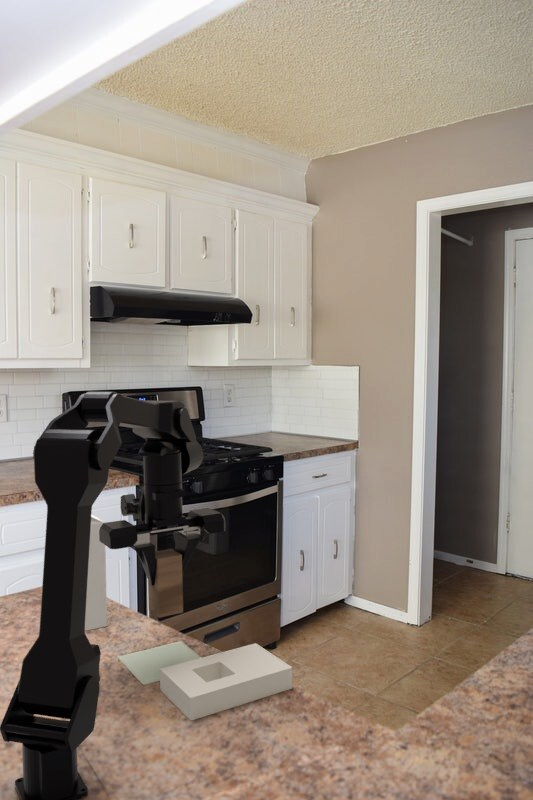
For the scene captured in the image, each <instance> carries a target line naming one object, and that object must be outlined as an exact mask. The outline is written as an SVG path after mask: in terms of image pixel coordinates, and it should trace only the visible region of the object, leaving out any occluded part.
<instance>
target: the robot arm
mask: <svg viewBox="0 0 533 800" xmlns="http://www.w3.org/2000/svg"><path fill="white" fill-rule="evenodd" d="M89 424H106V426H105V428H104V430H103V432H102V431H100V430H99V429H86V428H87V427H88V425H89ZM119 427H123V428H124V427H125V428H131V429H132V432H133V433H134V434H135V435H136V436H138V437H141V438H142V439H144V440H145V444H144V445H143V446H141V448H140V449H139V452H138V456H139V457H143V458H142V459H143V487H141V490H140V497H136V495H135V494H134V493H129V494H122V495H121V496H120V512H121V515H122V517H126V516H127V517H128V516H132V520H133V522H139V521H140V522H141V523H139V524H133V523H131V522H129V521H127V520H126V519H122V520H115V521H108V522H104V523H103V524H102V526H101V527H100V530H99V541H100V542H102V543H103V544H104V545H105V547H107V548H108V549H110V550H119V549H126V548H130V549H132V550H134V551H135V553H136V554H137V556H138V558H139V560H140V563H141V564H142V568H143V570H144V573H145V576H146V578H147V582H148V581H149V584H150V585H151V586H154V584H155V551H156V545H155V544H153V543H152V542H151V536H155V535H156V536H157V535H163V534H168V533H172V535H173V539H174V543H175V548H174V549H175V551H176V552H178V553H180V554H181V555H182V577H183V576H184V573H185V570H186V568H187V566H188V564H189V562H190V560H191V557H192V555H193V554H194V551H195V550H196V548H197V547H198V544H199V543H200V541H204V540H205V536H204V534H201V528H202V529H203V530H204V531H205V532H206V533H207V534H209V535H210V534H211V535H212V534H217V533H221V532H225V531H226V530H227V529H226V528H227V527H226V526H227V525H226V518H225V516H224V514H222V512H220V511H217V510H215V509H213V508H211V507H210V508H209V507H207V508H199V509H193V510H192V509H191V510H189V512H188V514H187V517H186V516H185V515H183V498H185V497H186V489H184V488H183V484H182V483H183V481H182V478H183V477H182V476H183V475H185V474H188V473H190V472H191V471H194V470H196V469H198V468H199V467H200V466H201V464H202V462H203V459H204V450H203V448H202V446H201V444H200V443H199V442H198V441H197V436H196V433H195V429H194V426H193V423H192V420H191V417H190V413H189V411H188V409H187V408H186V407H185V404H184V403H183V401H181V400H149V399H147V400H143V399H138V398H133V397H129V396H125V395H123V394H121V393H117V392H116V391H86V393H82V394H81V395H80V396H79V397H78V398H77V400H76V401H75V403H74V404H73V405H72V406H71V407H69V408H68V409H66V410H64V411H63V412H62V413H60V414H58V416H56V417H55V418H52V420H50V421H49V422H48V424H47V426H46V428H45V429H44V431H43V432H42V433H41V435H40V436H39V437H38V438H37V439H36V441H35V445H34V446H33V452H32V457H33V466H34V467H33V469H34V473H33V474H34V483H35V485H36V487H37V489H38V490H39V493H40V494H41V496H42V498H43V500H44V502H45V504H46V507H47V508H46V523H45V524H46V526H45V542H44V553H43V555H44V556H43V570H42V572H43V573H42V585H41V600H40V601H41V602H40V614H39V615H40V619H39V632H38V637H37V638H36V639H35V641H34V643H33V644H32V646H31V647H30V649H29V651H28V652H27V653H26V655H25V656H24V657H23V660H22V664H21V669H20V675H19V679H18V682H17V685H16V687H15V690H14V692H13V695H12V697H11V699H10V702H9V704H8V706H7V709H6V711H5V714H4V716H3V719H2V721H1V723H0V733H1V737H2V740H3V742H7V743H9V742H11V743H12V742H13V743H18V744H21V750H22V777H19V778H16V779H15V781H14V787H15V790H16V791H17V794H18V797H19V798H20V800H77V799H78V800H79V799H80V798H83V797H85V796H87V795H88V794H89V788H88V786H87V785H86V783H85V781H84V779H83V778H82V776H81V775H80V773H79V770H78V747H80V745H81V744H82V743H83V742H84V741H85V740H86V739H87V738H88V737H89V736H90V735H91V734H92V733H93V732H94V730H95V724H96V718H97V712H98V711H97V710H98V703H99V696H100V681H101V675H100V663H101V662H100V661H101V657H102V656H101V655H102V652H101V649H100V646H99V644H93V643H90V641H89V638H88V636H87V635H86V631H85V614H86V596H87V579H88V562H89V545H90V528H91V514H92V509H93V505H94V503H95V502H96V501H97V499H98V498H99V496H100V494H102V491H103V490H104V489H105V487H106V485H107V484H108V478H109V472H110V471H109V470H110V466H111V465H112V463H113V460H114V459H115V457H116V455H117V453H118V452H119V450H120V449H121V446H122V438H121V434H120V430H119ZM142 522H144V523H142ZM36 715H37V716H36ZM44 716H45V717H44ZM51 717H52V718H51Z"/></svg>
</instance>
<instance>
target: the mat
mask: <svg viewBox="0 0 533 800" xmlns="http://www.w3.org/2000/svg"><path fill="white" fill-rule="evenodd" d="M199 658H202V657H201V656H200V655H199V654H197V653H196V652H195V651H194V650H193V649H191V648H190V647H189V646H188V645H186V643H184V642H183V641H175V642H172V643H167V644H163V645H158V646H156V647H152V648H151V647H150V648H147V649H143V650H140V651H136V652H131V653H128V654H123V655H120V656H117V659H118V661H120V662H121V663H122V664H123V665H124V667H125V668H126V669H127V670H128V671H129V672H130V673H131V674H132V675H133V676H134V677H135V678H136V679H137V681H139V682H140V683H141V684H142V685H143V686H147V685H151V684H154V683H157V682H160V669H161V668H165V667H169V666H173V665H176V664H180V663H184V662H187V661H191V660H195V659H199Z"/></svg>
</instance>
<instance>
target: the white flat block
mask: <svg viewBox="0 0 533 800" xmlns="http://www.w3.org/2000/svg"><path fill="white" fill-rule="evenodd" d="M159 689H160V691H161V692H162V693H163V694H164V695H165V696H166V697H167V698H168V699H169V700H170V701H171V703H173V704H174V706H176V708H177V709H179V710H180V711H181V713H183V715H184V716H185V717H187V718H188V720H189V721H195V720H198V719H200V718H201V719H202V718H203V717H204V718H205V717H206V716H210V715H213V714H216V713H220V712H223V711H227V710H228V709H229V710H230V709H232V708H236V707H238V706H239V707H240V706H241V705H245V704H248V703H250V702H255V701H257V700H261V699H264V698H267V697H270V696H273V695H276V694H279V693H283V692H286V691H288V690H292V689H293V667H292V666H291V665H289V664H288V663H286V662H285V661H283V660H282V659H280V658H279V657H278V656H275V655H274V654H273V653H271V652H270V651H268V650H267V649H265V648H263V647H262V646H261V645H259V644H258V643H256V642H254V643H251V644H248V645H243V646H240V647H237V648H233V649H230V650H225V651H222V652H218V653H215V654H211V655H207V656H203V657H201V658H199V659H195V660H191V661H187V662H184V663H180V664H176V665H173V666H169V667H165V668H161V669H160V681H159Z"/></svg>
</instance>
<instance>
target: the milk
mask: <svg viewBox="0 0 533 800" xmlns="http://www.w3.org/2000/svg"><path fill="white" fill-rule="evenodd" d="M103 523H105V522H104V521H103V520H102V519H100V518H99V517H97V516H96V515H94V514H92V513H91V528H90V545H89V562H88V579H87V596H86V614H85V632H86V631H90V630H91V631H92V630H96V629H101V628H105V627H108V603H107V564H106V563H107V562H106V561H107V560H106V559H107V558H106V555H107V554H106V545H104V544H103V543H102V542H100V541H99V530H100V527H101V526H102V524H103Z"/></svg>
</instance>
